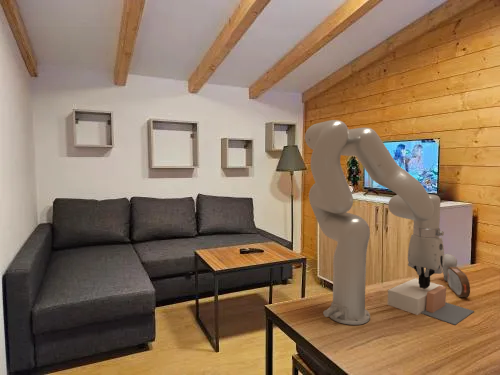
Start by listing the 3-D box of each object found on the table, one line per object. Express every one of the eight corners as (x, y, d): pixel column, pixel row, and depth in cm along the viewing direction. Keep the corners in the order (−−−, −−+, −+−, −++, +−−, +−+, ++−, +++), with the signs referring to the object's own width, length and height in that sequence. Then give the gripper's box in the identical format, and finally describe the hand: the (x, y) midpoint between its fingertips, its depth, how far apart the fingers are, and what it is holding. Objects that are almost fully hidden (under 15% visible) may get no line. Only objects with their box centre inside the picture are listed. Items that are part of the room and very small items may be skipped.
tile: (426, 310, 110) (432, 312, 108) (427, 292, 109) (433, 294, 108) (438, 303, 115) (445, 305, 114) (439, 285, 115) (446, 287, 113)
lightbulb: (439, 277, 141) (440, 251, 140) (457, 280, 137) (458, 253, 136) (437, 282, 136) (438, 254, 135) (455, 285, 132) (456, 257, 131)
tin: (470, 301, 118) (471, 277, 117) (460, 300, 118) (461, 276, 118) (454, 285, 132) (455, 263, 132) (445, 285, 133) (445, 263, 132)
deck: (417, 315, 107) (418, 299, 107) (387, 304, 115) (387, 289, 115) (443, 300, 118) (444, 285, 118) (414, 291, 126) (414, 278, 126)
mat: (455, 325, 101) (455, 324, 101) (420, 313, 109) (420, 312, 109) (474, 311, 109) (474, 311, 109) (440, 301, 117) (440, 300, 117)
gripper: (455, 234, 109) (453, 291, 111) (409, 227, 121) (407, 278, 123) (445, 238, 105) (443, 297, 106) (398, 230, 116) (396, 283, 118)
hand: (424, 287), depth 114 cm, fingers closed
